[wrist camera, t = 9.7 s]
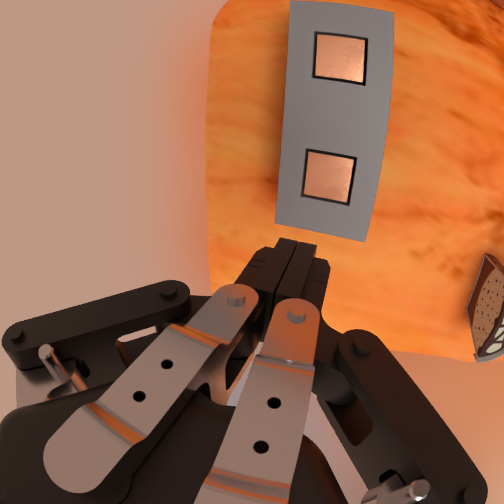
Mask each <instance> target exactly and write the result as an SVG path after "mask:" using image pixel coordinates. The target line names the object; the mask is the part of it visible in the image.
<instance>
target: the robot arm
mask: <svg viewBox="0 0 504 504" xmlns="http://www.w3.org/2000/svg"><path fill="white" fill-rule="evenodd" d="M491 1H492V2H493V3H495V4H496V5H498V6H499V7H501V8H502V9H504V0H491ZM316 249H317V245H313V244H309V243H304V242H299V243H298V241H295V240H290V239H285V238H280V239H279V241H278V242H277V244H276V246H275V247H274V248H270V247H266V246H265V247H264V248H262V249H260V250H258V251H256V253H255V254H254V255H253V257H252V258H251V260H250V261H249V263H248V264H247V266H246V267H245V268H244V270H243V271H242V273H241V274H240V276H239V277H238V278H237V280H236V281H235V283H234V284H228V285H225V286H223V287H221V288H219V289H218V290H217V291H216V292H215V293H214V294H213V295H212V296H194V295H190V290H189V287H188V286H187V285H186V284H185V283H183V282H180V281H176V280H166V281H162V282H158V283H155V284H151V285H148V286H144V287H141V288H137V289H134V290H130V291H127V292H124V293H120V294H116V295H113V296H109V297H106V298H102V299H99V300H95V301H92V302H88V303H85V304H81V305H78V306H74V307H71V308H67V309H63V310H60V311H56V312H53V313H49V314H45V315H42V316H39V317H35V318H32V319H28V320H24V321H20V322H17V323H15V324H13V325H12V326H10V327H9V328H8V329H7V330H6V332H5V333H4V335H3V338H2V346H3V348H4V350H5V351H6V353H7V354H8V355H9V357H10V358H11V360H12V361H13V363H14V365H15V367H16V398H17V409H15V410H13V411H12V412H10V413H9V414H7V415H6V416H5V417H4V419H3V420H2V422H1V423H0V504H348V502H347V500H346V498H345V496H344V494H343V492H342V490H341V488H340V486H339V484H338V482H337V480H336V478H335V476H334V474H333V472H332V470H331V468H330V466H329V464H328V462H327V460H326V458H325V456H324V454H323V453H322V452H321V450H320V449H319V448H318V447H317V445H316V444H315V443H314V442H313V441H311V440H310V439H309V438H308V437H307V436H305V435H304V434H303V431H304V426H305V422H306V416H307V412H308V406H309V401H310V396H311V392H313V393H314V394H316V395H317V400H318V402H319V404H320V406H321V408H322V410H323V411H324V413H325V415H326V417H327V419H328V420H329V422H330V424H331V426H332V427H333V429H334V431H335V433H336V435H337V436H338V438H339V440H340V442H341V443H342V445H343V447H344V448H345V450H346V452H347V453H348V455H349V457H350V459H351V461H352V462H353V464H354V466H355V467H356V469H357V471H358V473H359V474H360V476H361V478H362V479H363V481H364V483H365V485H366V486H367V488H368V489H369V490H368V492H367V493H366V494H365V495H364V497H363V498H362V501H361V504H485V502H486V499H487V494H488V488H487V484H486V481H485V479H484V478H483V476H482V475H481V473H480V472H479V471H478V469H477V467H476V466H475V464H474V463H473V461H472V460H471V459H470V457H469V456H468V454H467V453H466V451H465V450H464V448H463V447H462V446H461V444H460V443H459V442H458V440H457V439H456V437H455V436H454V435H453V433H452V432H451V430H450V429H449V428H448V426H447V425H446V424H445V422H444V421H443V419H442V418H441V417H440V415H439V414H438V413H437V411H436V410H435V409H434V407H433V406H432V405H431V403H430V402H429V401H428V399H427V398H426V397H425V396H424V394H423V393H422V392H421V390H420V389H419V388H418V386H417V385H416V384H415V383H414V381H413V380H412V379H411V378H410V376H409V375H408V374H407V372H406V371H405V370H404V369H403V367H402V366H401V365H400V364H399V362H398V361H397V360H396V359H395V357H394V356H393V355H392V354H391V353H390V351H389V350H388V349H387V348H386V346H385V345H384V344H383V343H382V341H381V340H380V339H379V338H378V337H377V336H376V335H374V334H373V333H371V332H368V331H365V330H361V329H354V330H349V331H347V332H345V333H344V334H342V333H340V332H338V331H336V330H334V329H332V328H331V327H330V326H328V325H327V324H326V322H325V321H324V320H323V318H322V315H321V309H322V305H323V301H324V296H325V292H326V287H327V283H328V278H329V273H330V269H331V268H330V266H329V264H328V261H327V260H325V259H320V258H316V257H315V254H316ZM152 326H155V328H156V331H157V332H156V333H153V334H150V335H147V336H144V337H140V338H137V339H134V340H131V341H128V342H120V341H118V340H117V339H118V338H119V337H121V336H123V335H126V334H130V333H133V332H136V331H140V330H142V329H146V328H149V327H152ZM259 341H260V342H263V345H262V348H261V351H260V353H259V355H258V354H257V355H256V356H255V358H254V360H253V363H252V366H251V369H250V371H249V374H248V377H247V379H246V382H245V385H244V388H243V390H242V393H241V396H240V398H239V401H238V404H237V406H236V407H235V406H227V402H228V399H229V397H230V395H231V393H232V392H233V390H234V389H235V387H236V385H237V384H238V382H239V380H240V379H241V377H242V375H243V374H244V372H245V370H246V369H247V367H248V366H249V364H250V362H251V360H252V359H253V356H254V351H255V349H256V347H257V345H258V343H259Z"/></svg>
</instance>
